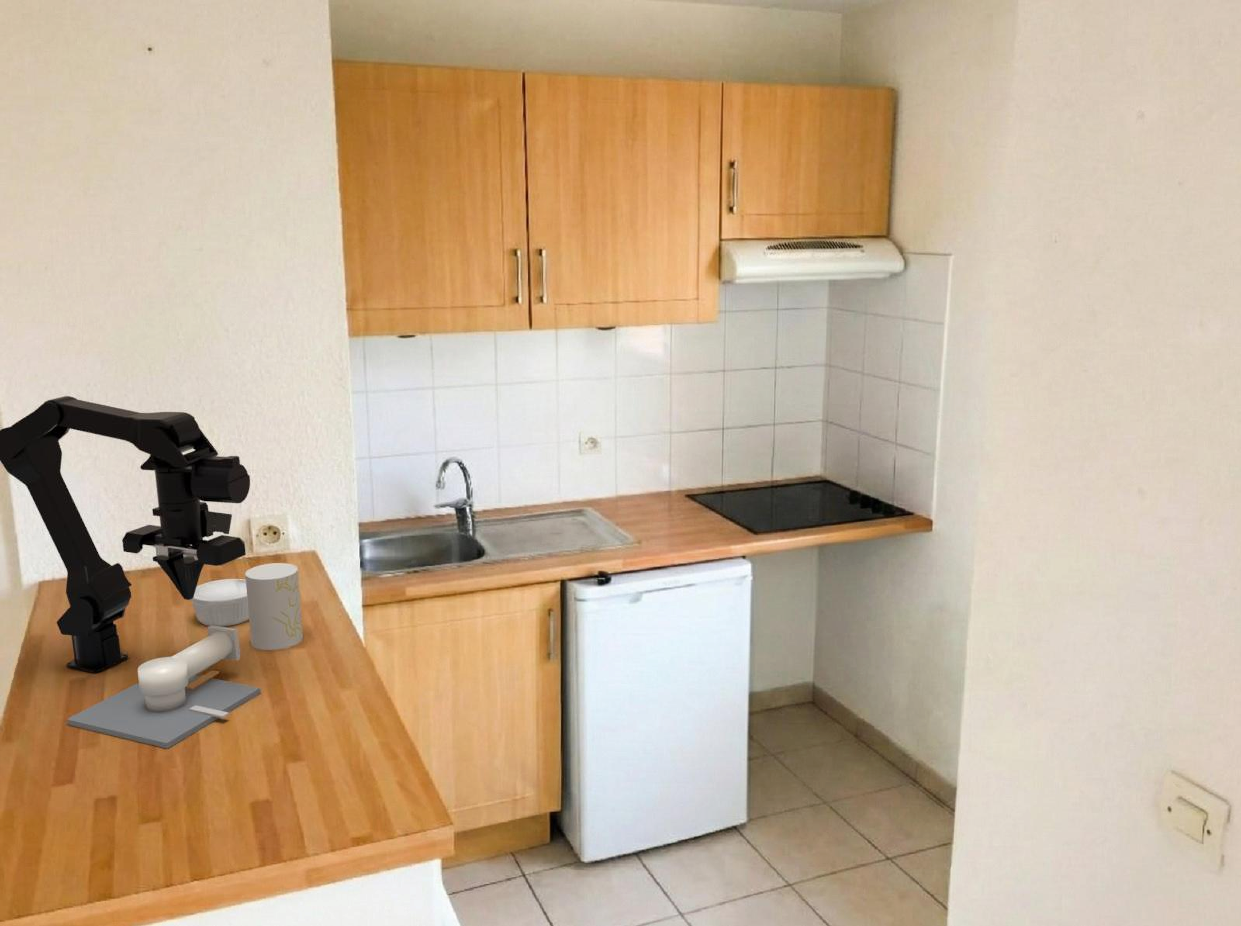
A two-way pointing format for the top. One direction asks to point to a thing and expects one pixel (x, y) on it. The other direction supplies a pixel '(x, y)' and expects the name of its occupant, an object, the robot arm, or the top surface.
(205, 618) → the ramekin
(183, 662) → the elbow
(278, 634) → the cup
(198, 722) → the grey square panel
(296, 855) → the top surface
